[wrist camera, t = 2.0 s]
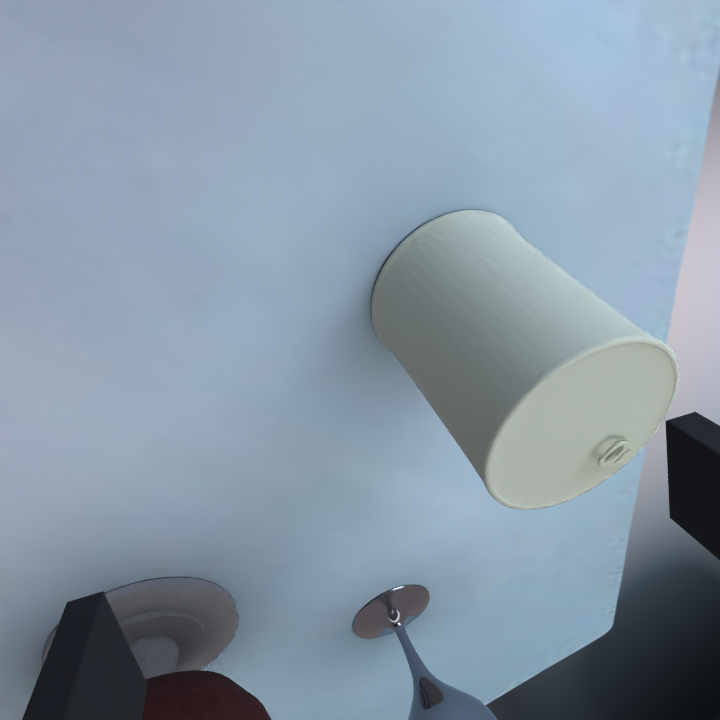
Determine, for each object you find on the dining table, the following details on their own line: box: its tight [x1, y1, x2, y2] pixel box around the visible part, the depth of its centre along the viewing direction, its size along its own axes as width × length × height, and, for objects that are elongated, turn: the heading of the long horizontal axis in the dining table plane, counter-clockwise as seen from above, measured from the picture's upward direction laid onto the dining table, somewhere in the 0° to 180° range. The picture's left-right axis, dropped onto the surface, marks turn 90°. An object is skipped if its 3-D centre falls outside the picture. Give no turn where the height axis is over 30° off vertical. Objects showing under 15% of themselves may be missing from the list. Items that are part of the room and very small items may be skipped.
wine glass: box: [353, 585, 498, 720], centre depth 46 cm, size 8×8×15 cm
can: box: [371, 210, 679, 510], centre depth 29 cm, size 9×9×12 cm
